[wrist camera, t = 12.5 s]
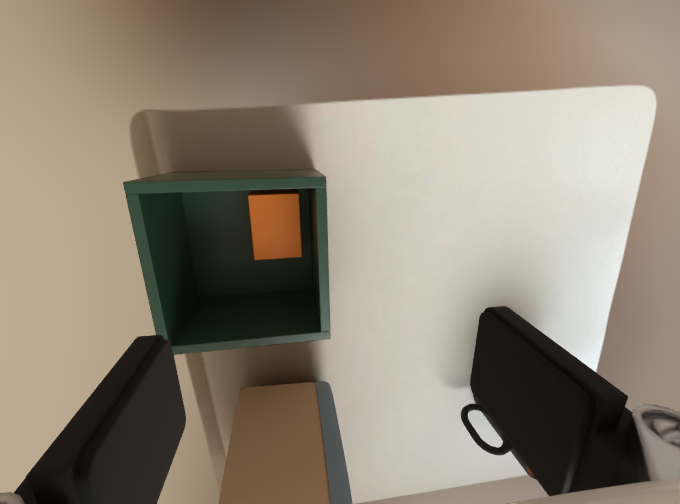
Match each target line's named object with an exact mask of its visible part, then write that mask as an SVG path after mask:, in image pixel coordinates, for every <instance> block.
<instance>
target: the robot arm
mask: <svg viewBox="0 0 680 504" xmlns="http://www.w3.org/2000/svg"><path fill="white" fill-rule="evenodd" d="M470 386H471V390H472V392H473V394H474V395H475V397H476V398H477V399H478V401H479V402H480V403H481V405H482V406H483V407H484V409H485V410H486V412H487V413H488V414H489V416H490V417H491V418H492V420H493V421H494V422H495V424H496V425H497V426H498V428H499V429H500V430H501V432H502V433H503V435H504V436H505V437H506V439H507V440H508V441H509V443H510V444H511V445H512V447H513V448H514V449H515V451H516V452H517V453H518V455H519V456H520V457H521V459H522V460H523V462H524V463H525V464H526V466H527V467H528V468H529V470H530V471H531V472H532V474H533V475H534V476H535V478H536V479H537V480H538V482H539V483H540V485H541V486H542V487H543V489H544V490H545V491H546V492H547V494H548V495H549V497H544V498H537V499H531V500H525V501H519V502H513V503H507V504H680V412H678V411H675V410H672V409H670V408H667V407H662V406H658V405H648V404H643V405H639V406H636V407H635V409H633V412H631V411H629V410H628V409H627V408H626V407H625V404H626V401H627V398H628V396H627V395H625V394H624V393H623V392H621V391H620V390H619V389H617V388H616V387H615V386H613V385H612V384H611V383H609V382H608V381H607V380H605V379H604V378H603V377H601V376H600V375H598V374H597V373H596V372H594V371H593V370H592V369H590V368H589V367H588V366H586V365H585V364H584V363H582V362H581V361H580V360H578V359H577V358H576V357H574V356H573V355H572V354H570V353H569V352H568V351H566V350H565V349H563V348H562V347H561V346H559V345H558V344H557V343H555V342H554V341H553V340H551V339H550V338H549V337H547V336H546V335H545V334H543V333H542V332H541V331H539V330H538V329H536V328H535V327H534V326H532V325H531V324H530V323H528V322H527V321H526V320H524V319H523V318H522V317H520V316H519V315H518V314H516V313H515V312H514V311H512V310H511V309H510V308H508V307H506V306H500V307H488V308H486V309H485V311H484V312H483V313H481V315H480V318H479V325H478V332H477V338H476V345H475V352H474V359H473V366H472V373H471V380H470ZM185 423H186V416H185V409H184V404H183V399H182V395H181V390H180V385H179V380H178V375H177V370H176V365H175V360H174V355H173V350H172V345H171V342H170V340H168V339H167V340H164V338H163V336H162V335H153V336H140V337H138V338H136V339H135V340H134V342H133V343H132V344H131V345H130V347H129V348H128V349H127V351H126V352H125V353H124V354H123V355H122V357H121V358H120V359H119V360H118V362H117V363H116V364H115V365H114V367H113V368H112V369H111V370H110V372H109V373H108V374H107V375H106V377H105V378H104V379H103V381H102V382H101V383H100V384H99V385H98V387H97V388H96V389H95V390H94V392H93V393H92V394H91V396H90V397H89V398H88V399H87V401H86V402H85V403H84V404H83V406H82V407H81V408H80V409H79V411H78V412H77V413H76V414H75V416H74V417H73V418H72V419H71V421H70V422H69V423H68V424H67V426H66V427H65V428H64V430H63V431H62V432H61V433H60V435H59V436H58V437H57V438H56V439H55V441H54V442H53V443H52V444H51V446H50V447H49V448H48V450H47V451H46V452H45V453H44V454H43V456H42V457H41V458H40V460H39V461H38V462H37V463H36V465H35V466H34V467H33V468H32V470H31V471H30V472H29V473H28V475H27V476H26V478H25V479H24V481H23V482H22V483H21V484H20V486H19V487H18V488H17V490H16V491H15V492H14V493H11V492H9V493H0V504H157V501H158V499H159V496H160V493H161V491H162V488H163V485H164V482H165V480H166V477H167V474H168V472H169V469H170V466H171V464H172V461H173V458H174V455H175V453H176V450H177V447H178V445H179V442H180V439H181V437H182V434H183V431H184V428H185Z"/></svg>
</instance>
